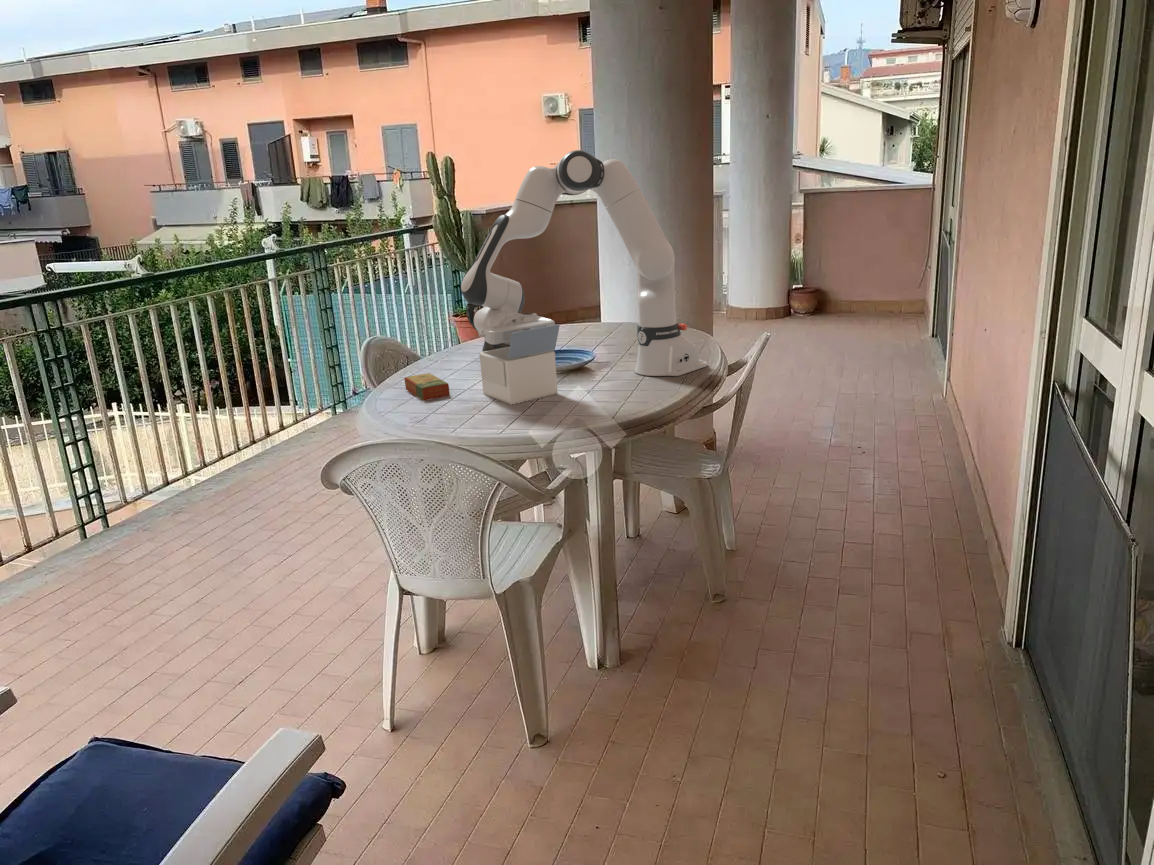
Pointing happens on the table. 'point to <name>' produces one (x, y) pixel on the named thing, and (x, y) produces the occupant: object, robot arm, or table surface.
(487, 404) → the table surface
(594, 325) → the table surface
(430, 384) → the carton
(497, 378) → the shipping box
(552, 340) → the flap
